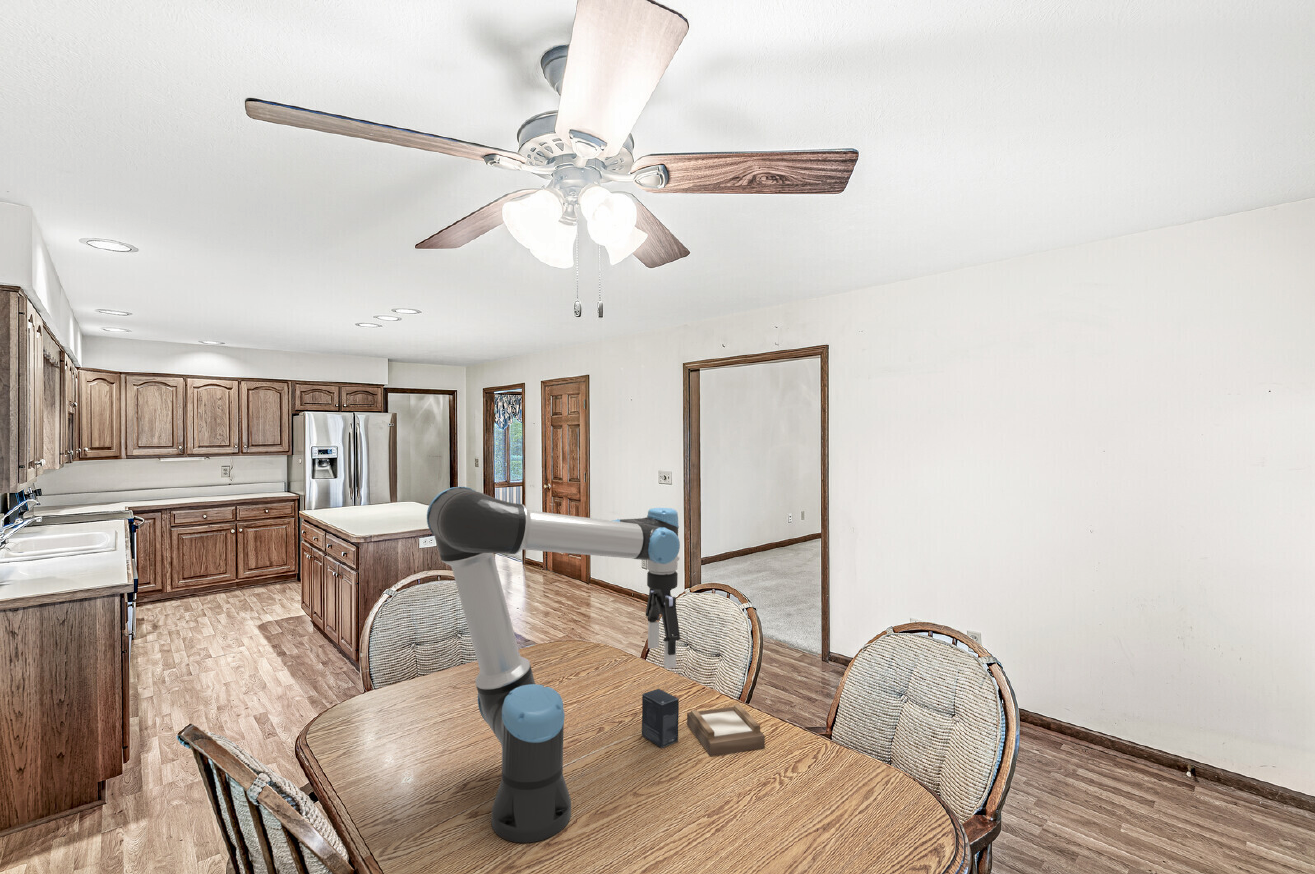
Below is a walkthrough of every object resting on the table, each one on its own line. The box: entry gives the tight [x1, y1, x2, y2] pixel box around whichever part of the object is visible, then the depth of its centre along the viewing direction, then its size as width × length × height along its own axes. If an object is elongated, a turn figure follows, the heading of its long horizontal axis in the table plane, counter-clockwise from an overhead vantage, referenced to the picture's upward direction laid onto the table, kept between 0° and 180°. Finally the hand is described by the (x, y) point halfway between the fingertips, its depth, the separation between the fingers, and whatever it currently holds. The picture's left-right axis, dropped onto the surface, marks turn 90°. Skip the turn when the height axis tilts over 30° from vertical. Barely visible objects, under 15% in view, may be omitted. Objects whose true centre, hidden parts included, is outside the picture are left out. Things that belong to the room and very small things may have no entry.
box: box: [641, 688, 680, 749], centre depth 145 cm, size 8×6×11 cm
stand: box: [686, 703, 766, 757], centre depth 147 cm, size 16×14×4 cm
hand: (661, 656), depth 145 cm, fingers open, 13 cm apart
